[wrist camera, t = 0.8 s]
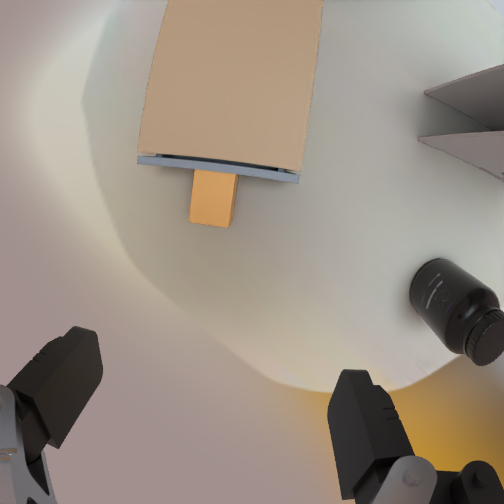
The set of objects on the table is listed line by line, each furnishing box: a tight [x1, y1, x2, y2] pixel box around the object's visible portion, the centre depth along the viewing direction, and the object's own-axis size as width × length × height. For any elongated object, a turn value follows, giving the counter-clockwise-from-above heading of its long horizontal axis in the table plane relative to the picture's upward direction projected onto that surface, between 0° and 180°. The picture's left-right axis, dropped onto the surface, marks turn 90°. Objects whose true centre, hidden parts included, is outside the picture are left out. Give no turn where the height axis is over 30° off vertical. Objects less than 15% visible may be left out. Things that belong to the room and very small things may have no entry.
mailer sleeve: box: [137, 0, 323, 171], centre depth 21 cm, size 16×12×6 cm
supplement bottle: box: [411, 259, 504, 366], centre depth 23 cm, size 7×7×12 cm
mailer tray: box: [137, 153, 300, 228], centre depth 22 cm, size 20×12×5 cm, turn 172°
